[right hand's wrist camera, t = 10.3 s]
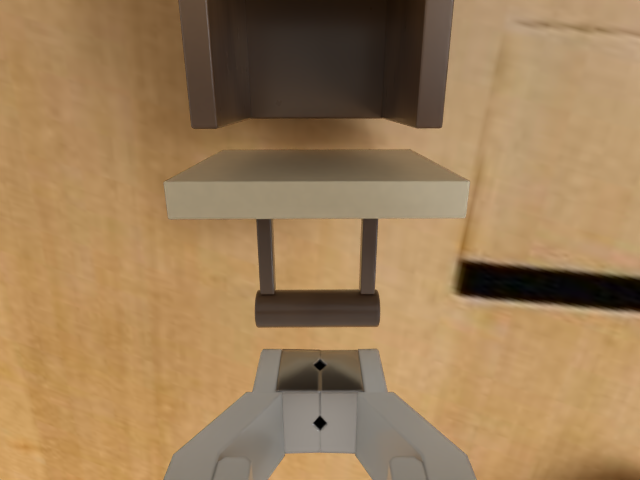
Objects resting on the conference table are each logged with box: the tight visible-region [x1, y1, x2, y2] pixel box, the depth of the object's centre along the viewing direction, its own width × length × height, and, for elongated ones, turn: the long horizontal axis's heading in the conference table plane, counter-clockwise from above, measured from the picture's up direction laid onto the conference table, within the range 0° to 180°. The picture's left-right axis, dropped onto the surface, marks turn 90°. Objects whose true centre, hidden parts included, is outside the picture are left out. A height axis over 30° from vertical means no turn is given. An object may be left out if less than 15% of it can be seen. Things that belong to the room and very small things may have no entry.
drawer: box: [164, 0, 470, 328], centre depth 14 cm, size 24×9×8 cm, turn 0°
